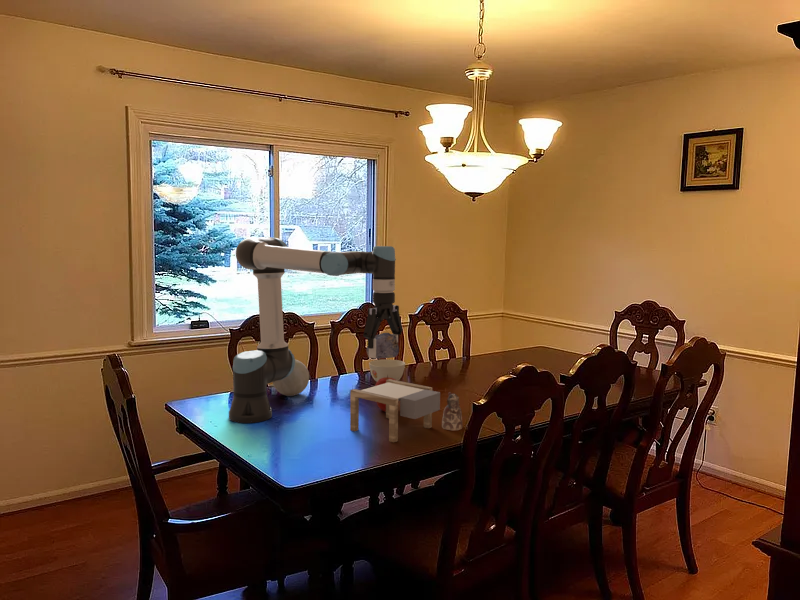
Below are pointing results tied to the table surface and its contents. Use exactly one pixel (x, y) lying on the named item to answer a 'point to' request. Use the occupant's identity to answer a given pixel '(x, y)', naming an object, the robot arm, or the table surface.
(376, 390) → the trapdoor
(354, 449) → the table surface
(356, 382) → the table surface
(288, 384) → the decorative sphere
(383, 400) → the frame
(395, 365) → the bowl
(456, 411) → the figurine
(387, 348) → the rock
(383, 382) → the apple
